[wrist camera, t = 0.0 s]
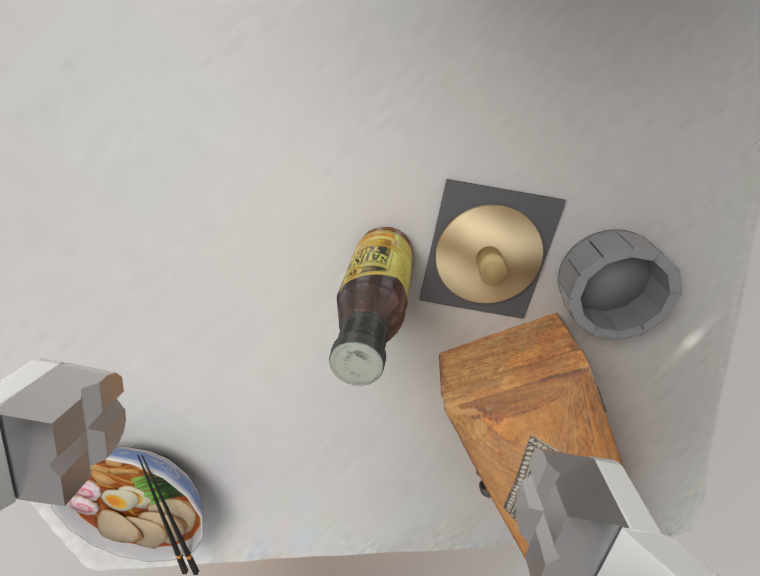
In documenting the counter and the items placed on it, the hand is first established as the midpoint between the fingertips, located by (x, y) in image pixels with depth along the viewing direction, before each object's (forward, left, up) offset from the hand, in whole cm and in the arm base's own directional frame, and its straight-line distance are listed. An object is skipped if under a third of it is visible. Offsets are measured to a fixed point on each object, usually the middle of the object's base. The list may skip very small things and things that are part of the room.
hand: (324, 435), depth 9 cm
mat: (+11, +11, -39) cm, 42 cm away
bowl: (+11, +24, -39) cm, 47 cm away
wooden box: (+33, +23, -39) cm, 56 cm away
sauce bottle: (+13, 0, -39) cm, 41 cm away
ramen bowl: (+57, -30, -39) cm, 75 cm away
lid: (+11, +11, -38) cm, 41 cm away
